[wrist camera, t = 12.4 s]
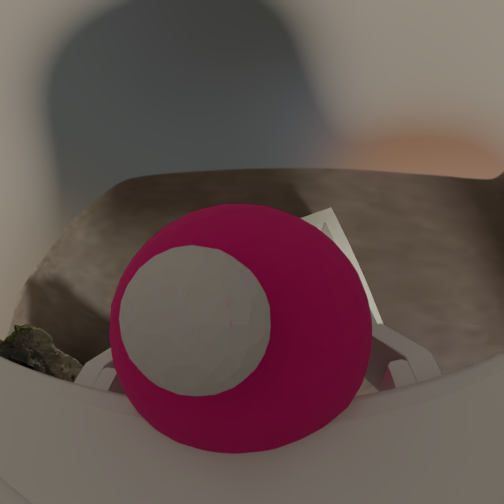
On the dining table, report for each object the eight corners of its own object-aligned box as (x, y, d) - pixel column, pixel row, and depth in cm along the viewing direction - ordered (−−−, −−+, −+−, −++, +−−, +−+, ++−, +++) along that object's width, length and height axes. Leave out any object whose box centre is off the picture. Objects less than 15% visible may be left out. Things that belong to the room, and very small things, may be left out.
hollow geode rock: (63, 356, 29) (-8, 406, 17) (39, 288, 23) (-55, 343, 11) (227, 490, 21) (155, 574, 8) (256, 468, 15) (143, 601, 2)
